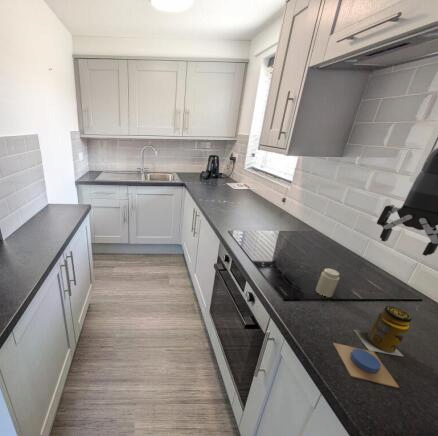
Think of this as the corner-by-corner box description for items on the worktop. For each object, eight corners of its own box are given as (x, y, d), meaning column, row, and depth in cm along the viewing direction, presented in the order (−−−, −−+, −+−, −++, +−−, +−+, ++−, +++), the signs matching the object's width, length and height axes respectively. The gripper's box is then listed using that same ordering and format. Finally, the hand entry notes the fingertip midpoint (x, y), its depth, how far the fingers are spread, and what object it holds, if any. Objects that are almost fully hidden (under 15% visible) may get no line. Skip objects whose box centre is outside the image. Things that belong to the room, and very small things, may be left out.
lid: (351, 365, 60) (353, 360, 60) (349, 349, 65) (351, 345, 64) (379, 378, 58) (382, 373, 57) (375, 361, 62) (378, 356, 61)
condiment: (403, 356, 64) (424, 324, 59) (369, 351, 65) (386, 318, 61) (383, 335, 70) (401, 304, 66) (352, 330, 72) (367, 299, 67)
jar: (326, 288, 91) (335, 268, 87) (335, 298, 86) (344, 276, 82) (312, 287, 91) (320, 266, 88) (320, 296, 86) (328, 275, 83)
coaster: (373, 352, 65) (373, 351, 65) (398, 388, 56) (399, 387, 56) (332, 343, 67) (332, 342, 67) (350, 376, 58) (351, 375, 58)
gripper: (388, 185, 63) (365, 238, 69) (472, 200, 51) (435, 263, 57) (401, 183, 66) (378, 234, 72) (483, 197, 54) (447, 257, 60)
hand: (403, 247), depth 64 cm, fingers open, 8 cm apart
